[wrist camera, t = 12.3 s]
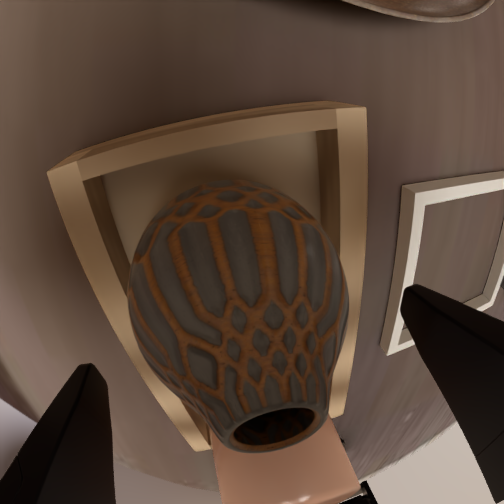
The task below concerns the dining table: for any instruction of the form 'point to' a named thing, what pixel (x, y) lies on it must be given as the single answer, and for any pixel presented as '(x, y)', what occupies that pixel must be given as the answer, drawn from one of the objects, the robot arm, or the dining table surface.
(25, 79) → the dining table surface
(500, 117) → the dining table surface
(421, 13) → the plant saucer
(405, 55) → the dining table surface
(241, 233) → the vase
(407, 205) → the white square frame
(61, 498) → the robot arm
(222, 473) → the block
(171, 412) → the pallet
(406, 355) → the dining table surface
